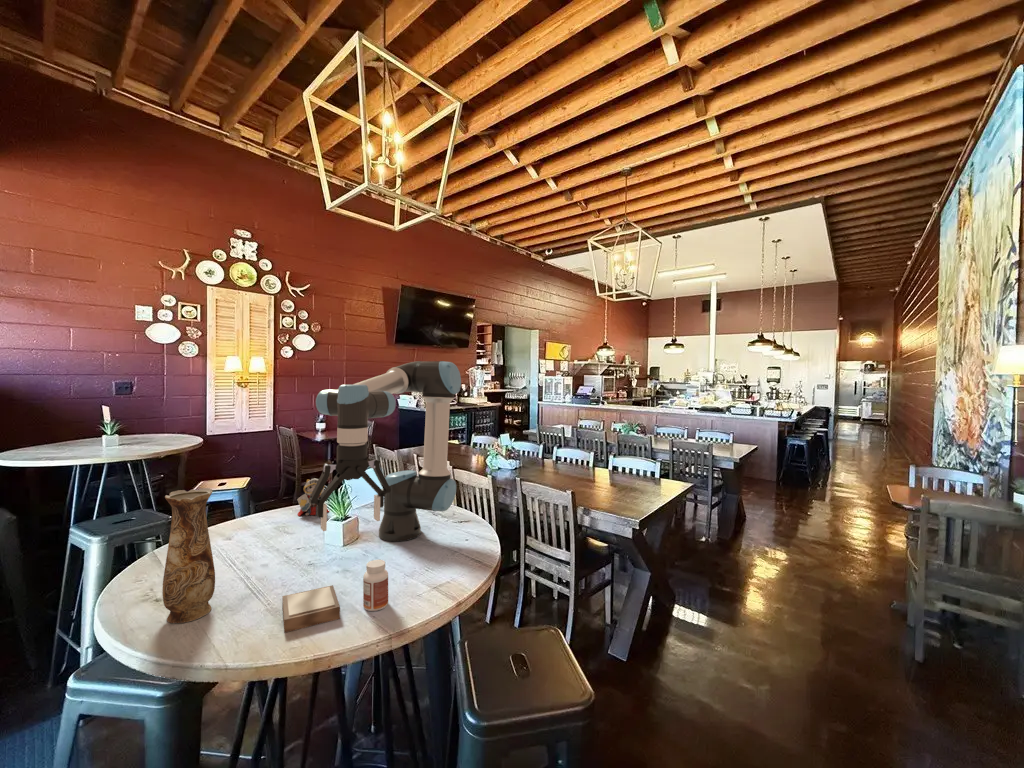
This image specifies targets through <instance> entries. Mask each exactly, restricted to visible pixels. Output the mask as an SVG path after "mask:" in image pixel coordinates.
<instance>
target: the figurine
mask: <svg viewBox="0 0 1024 768" xmlns="http://www.w3.org/2000/svg"><path fill="white" fill-rule="evenodd" d="M318 480H319V478H315V477H314V478H311V479H306V482H305V485H304V486H303V492H304V493H303V494H302V495H301V496H300V497H298V498H297V502H298V505H299V507H300V510H299V511H298V513H297V516H298V517H301V516H302V515H303V514H304V515H305V516H309V515H310V516H317V504H312V503H311V502H310V501H309V497H310V495H311V494H312V492H313V490H314V488H315V486H316V484H317V482H318ZM324 487H325V488H326V485H324ZM324 487H323V489H322V491H321V493H320V495H321V494H322V493H323V491H324ZM320 495H319V496H320ZM328 510H329V509H328V508H327V513H329V512H330V510H329V511H328Z"/></svg>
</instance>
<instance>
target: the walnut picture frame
mask: <svg viewBox="0 0 1024 768" xmlns="http://www.w3.org/2000/svg"><path fill="white" fill-rule="evenodd" d="M281 599H282V602H281V603H282V607H281V608H282V619H283V621H282V622H283V631H284V633H285V634H286V633H288V632H293V631H297V630H301V629H305V628H308V627H313V626H316V625H320V624H325V623H328V622H332V621H337V620H340V619H341V606H340V603H339V599H338V596H337V593H336V590H335V587H334V585H328V586H327V585H326V586H324V587H319V588H315V589H309V590H304V591H299V592H297V593H296V592H295V593H291V594H285V595H283V596H282V598H281Z"/></svg>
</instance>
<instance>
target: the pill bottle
mask: <svg viewBox="0 0 1024 768" xmlns="http://www.w3.org/2000/svg"><path fill="white" fill-rule="evenodd" d="M362 576H363V581H362V583H363V585H362V586H363V588H362V589H363V592H362V593H363V596H362V597H363V599H362V601H363V602H362V604H363V605H362V606H363V609H365V610H366V611H367V612H368V611H369V612H377V611H380V610H383V609H384V608H386V607H387V606H388V604H389V572H388V570H387V569H386V561H385V560H384V559H373V560H370V561H368V562H367V563H366V570H365V572H364V574H363V575H362Z"/></svg>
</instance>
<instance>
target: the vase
mask: <svg viewBox="0 0 1024 768" xmlns="http://www.w3.org/2000/svg"><path fill="white" fill-rule="evenodd" d="M212 493H213V489H212V488H210V487H205V488H204V487H203V488H200V489H198V490H196V489H193V488H192V489H190V490H188V491H187V490H185V489H182V490H181V489H180V490H179V489H178V490H174V491H171V492H169V495H167V494H166V495H165V496H164V498H165V500H166V501H167V502H168V504H169V505H170V508H171V513H172V514H171V515H172V516H171V524H170V533H169V539H168V546H167V553H166V559H165V565H164V572H163V576H162V577H163V579H162V589H161V590H162V591H161V593H162V601H163V605H164V608H165V609H166V610H168V611H169V614H168V615H167V618H166V621H167V622H168V623H169V624H184V623H188V622H192V621H196V620H198V619H200V618H203V617H204V616H206V615H208V614H209V613H210V612H211V611H212V606H211V604H210V603H209V601H210V600H211V599H212V598H213V595H214V593H215V587H216V570H215V564H214V563H215V562H214V557H213V550H212V546H211V545H212V544H211V539H210V534H209V533H210V532H209V527H208V519H207V508H206V506H207V503H208V501H209V499H210V497H211V495H212Z"/></svg>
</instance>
